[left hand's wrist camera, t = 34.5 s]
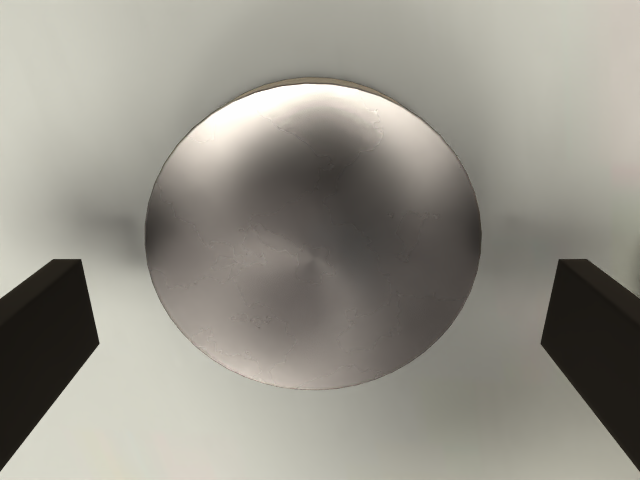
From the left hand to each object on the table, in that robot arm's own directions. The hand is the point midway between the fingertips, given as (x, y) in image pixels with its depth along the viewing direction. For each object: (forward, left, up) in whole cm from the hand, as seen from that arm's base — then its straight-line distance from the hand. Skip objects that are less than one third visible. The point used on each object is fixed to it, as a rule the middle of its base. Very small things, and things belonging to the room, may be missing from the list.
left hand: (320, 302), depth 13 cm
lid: (0, 0, -2) cm, 2 cm away
